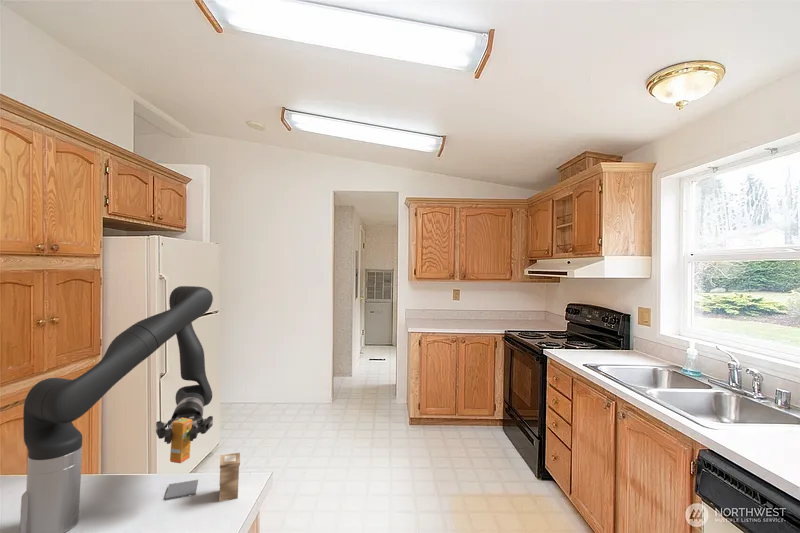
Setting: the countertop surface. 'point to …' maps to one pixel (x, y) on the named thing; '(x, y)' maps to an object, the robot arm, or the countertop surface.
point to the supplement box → (180, 440)
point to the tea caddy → (229, 476)
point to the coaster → (181, 489)
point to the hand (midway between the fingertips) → (180, 438)
